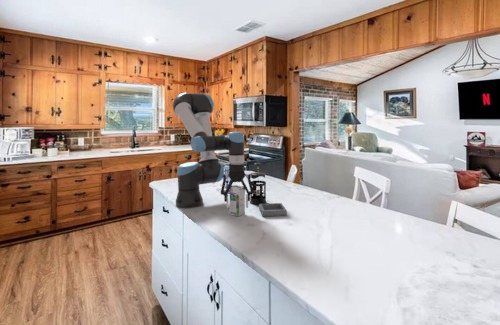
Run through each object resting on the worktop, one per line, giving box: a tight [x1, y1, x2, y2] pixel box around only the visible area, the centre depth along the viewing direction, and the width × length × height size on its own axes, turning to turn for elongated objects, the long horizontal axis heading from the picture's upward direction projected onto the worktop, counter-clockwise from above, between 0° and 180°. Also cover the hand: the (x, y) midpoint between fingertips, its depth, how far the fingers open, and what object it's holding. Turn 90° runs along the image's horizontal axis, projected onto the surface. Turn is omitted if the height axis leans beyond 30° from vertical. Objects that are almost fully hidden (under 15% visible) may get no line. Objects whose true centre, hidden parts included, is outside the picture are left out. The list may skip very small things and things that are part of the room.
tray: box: [258, 202, 288, 218], centre depth 147 cm, size 12×12×3 cm
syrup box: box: [229, 184, 246, 217], centre depth 144 cm, size 6×6×14 cm
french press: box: [249, 162, 267, 206], centre depth 163 cm, size 12×9×23 cm
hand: (237, 207), depth 145 cm, fingers open, 9 cm apart
